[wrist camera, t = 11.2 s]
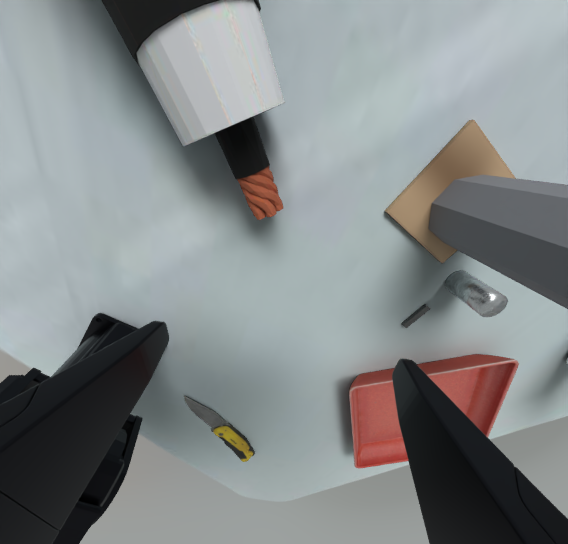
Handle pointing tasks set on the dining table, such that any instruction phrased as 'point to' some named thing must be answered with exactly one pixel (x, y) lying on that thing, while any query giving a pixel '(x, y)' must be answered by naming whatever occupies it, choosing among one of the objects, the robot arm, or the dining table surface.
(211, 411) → the utility knife
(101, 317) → the robot arm
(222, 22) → the cable
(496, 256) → the octagonal tapered tumbler
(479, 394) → the plant saucer
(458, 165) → the tan pad
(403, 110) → the dining table surface
